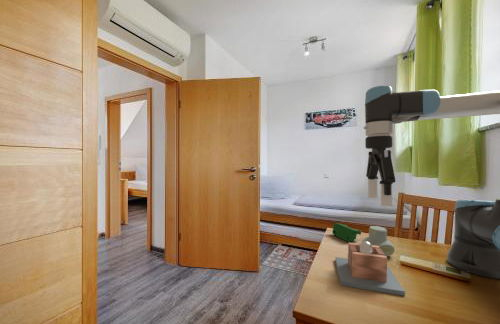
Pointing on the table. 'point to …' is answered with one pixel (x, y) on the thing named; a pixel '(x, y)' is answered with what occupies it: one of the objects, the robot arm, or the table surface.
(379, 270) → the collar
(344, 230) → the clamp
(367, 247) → the steel post
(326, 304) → the table surface
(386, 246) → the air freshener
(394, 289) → the post board
